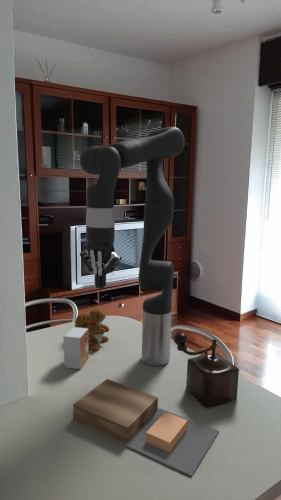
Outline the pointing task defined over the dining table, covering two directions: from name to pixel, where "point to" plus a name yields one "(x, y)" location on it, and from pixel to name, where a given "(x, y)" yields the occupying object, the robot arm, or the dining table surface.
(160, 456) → the mat
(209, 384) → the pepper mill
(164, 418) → the orange tan block
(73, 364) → the small box
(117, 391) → the brown box
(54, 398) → the dining table surface
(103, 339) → the brown teddy bear
